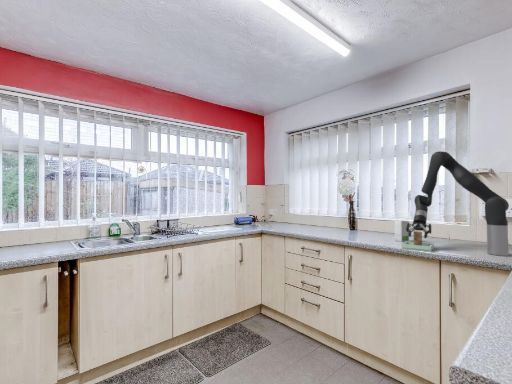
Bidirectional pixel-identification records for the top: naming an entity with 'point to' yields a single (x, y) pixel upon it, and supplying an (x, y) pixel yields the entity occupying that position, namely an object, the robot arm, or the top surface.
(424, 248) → the pale green tray
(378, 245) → the top surface
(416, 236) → the block
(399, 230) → the skincare box
